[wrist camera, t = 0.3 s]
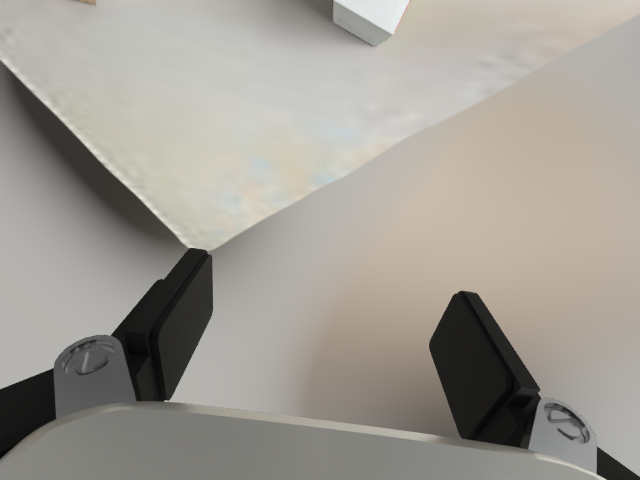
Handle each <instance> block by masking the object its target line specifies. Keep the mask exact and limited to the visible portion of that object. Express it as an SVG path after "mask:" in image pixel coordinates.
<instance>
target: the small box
mask: <svg viewBox="0 0 640 480" xmlns="http://www.w3.org/2000/svg"><path fill="white" fill-rule="evenodd" d="M410 1H411V0H333V23H335V24H337V25H339V26H340V27H342V28H344V29H345V30H347V31H349V32H350V33H352V34H354V35H356V36H357V37H359V38H361V39H362V40H364V41H366V42H368V43H369V44H371V45H373V46H374V47H377V46H379V45H380V44H382V43H383V42H385V41H386V40H388V39H389V38H390V37H392V36H393V35H394V34H395V32H396V30H397V28H398V26H399V23H400V21H401V19H402V17H403V15H404V13H405V11H406V9H407V7H408V5H409V3H410Z"/></svg>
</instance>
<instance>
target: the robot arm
mask: <svg viewBox="0 0 640 480" xmlns="http://www.w3.org/2000/svg"><path fill="white" fill-rule="evenodd" d="M212 282H213V281H212V256H211V255H209V254H207V251H206V250H202V249H196V248H189V249H188V251H187V252H186V253H185V254H184V256H183V257H182V258H181V259H180V260H179V262H178V263H177V264H176V265H175V267H174V268H173V269H172V270H171V272H170V273H169V274H168V275H167V277H166V278H165V279H164V280H163V279H160V280H157V281H156V282H155V284H153V286H152V287H151V288H150V290H149V291H148V292H147V293H146V294H145V295H144V296H143V298H142V299H141V300H140V301H139V302H138V304H137V305H136V306H135V307H134V308H133V310H132V311H131V312H130V313H129V314H128V315H127V317H126V318H125V319H124V320H123V321H122V323H121V324H120V325H119V326H118V328H117V329H116V330H115V331H114V332H113V333H112V335H111V336H108V335H95V336H91V337H87V338H84V339H82V340H79V341H77V342H75V343H73V344H72V345H70V346H69V347H67V348H66V349H65V350H64V351H63V352H62V353H61V354H60V355H59V356H58V358H57V359H56V361H55V364H54V368H53V369H51V370H48V371H46V372H43V373H40V374H38V375H36V376H33V377H30V378H28V379H25V380H23V381H20V382H18V383H15V384H13V385H10V386H8V387H5V388H3V389H0V480H640V477H639V476H637V475H636V474H635V473H633V472H632V471H630V470H629V469H627V468H626V467H625V466H623V465H622V464H621V463H619V462H618V461H617V460H615V459H614V458H612V457H611V456H610V455H608V454H607V453H605V452H604V451H603V450H601V449H600V448H598V447H597V440H596V435H595V433H594V431H593V430H592V428H591V426H590V425H589V424H588V422H587V421H586V420H585V419H584V418H583V417H582V416H581V415H580V414H579V413H578V412H577V411H576V410H574V409H573V408H571V407H570V406H569V405H567V404H565V403H563V402H561V401H559V400H556V399H553V398H543V399H541V397H540V396H539V394H538V392H539V391H540V388H539V387H538V385H537V383H536V382H535V380H534V379H533V377H532V376H531V374H530V373H529V371H528V370H527V368H526V367H525V365H524V364H523V362H522V361H521V359H520V358H519V356H518V355H517V353H516V351H515V350H514V348H513V347H512V345H511V344H510V342H509V341H508V339H507V338H506V336H505V335H504V333H503V332H502V330H501V329H500V327H499V326H498V324H497V323H496V321H495V320H494V318H493V316H492V315H491V313H490V312H489V310H488V309H487V307H486V306H485V304H484V303H483V301H482V300H481V298H480V297H479V295H478V294H477V293H473V292H467V291H460V292H458V294H454V295H453V297H452V299H451V301H450V303H449V305H448V307H447V308H446V311H445V312H444V314H443V316H442V318H441V320H440V322H439V324H438V326H437V328H436V330H435V332H434V334H433V336H432V338H431V340H430V344H429V348H430V352H431V355H432V358H433V361H434V364H435V366H436V369H437V372H438V375H439V378H440V381H441V384H442V386H443V389H444V392H445V395H446V398H447V400H448V404H449V406H450V409H451V412H452V415H453V418H454V421H455V423H456V426H457V429H458V432H459V434H460V436H461V438H462V439H459V438H452V437H445V436H438V435H430V434H423V433H416V432H408V431H401V430H394V429H386V428H378V427H371V426H364V425H356V424H348V423H341V422H333V421H325V420H318V419H310V418H302V417H295V416H287V415H278V414H270V413H263V412H255V411H247V410H239V409H231V408H222V407H213V406H203V405H195V404H185V403H173V402H164V400H168V401H169V400H170V398H171V397H172V395H173V393H174V391H175V389H176V387H177V385H178V383H179V381H180V379H181V377H182V375H183V373H184V371H185V369H186V367H187V365H188V363H189V361H190V359H191V357H192V355H193V353H194V351H195V349H196V347H197V345H198V343H199V340H200V338H201V336H202V335H203V332H204V330H205V328H206V326H207V324H208V322H209V320H210V318H211V316H212V311H213V286H212V285H213V283H212Z"/></svg>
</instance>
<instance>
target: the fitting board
mask: <svg viewBox="0 0 640 480" xmlns="http://www.w3.org/2000/svg"><path fill="white" fill-rule="evenodd" d="M78 1H82V2H86V3H90V4H94V5H96V1H95V0H78Z"/></svg>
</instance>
